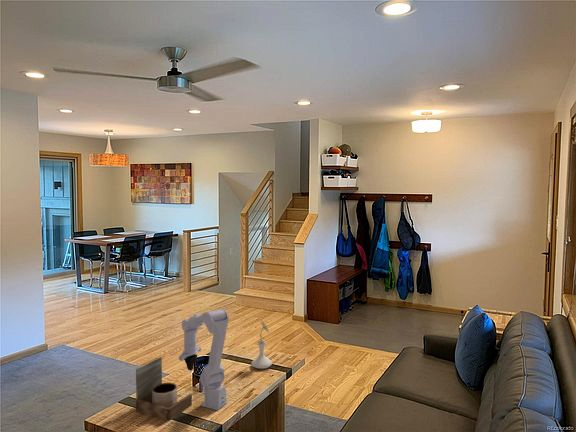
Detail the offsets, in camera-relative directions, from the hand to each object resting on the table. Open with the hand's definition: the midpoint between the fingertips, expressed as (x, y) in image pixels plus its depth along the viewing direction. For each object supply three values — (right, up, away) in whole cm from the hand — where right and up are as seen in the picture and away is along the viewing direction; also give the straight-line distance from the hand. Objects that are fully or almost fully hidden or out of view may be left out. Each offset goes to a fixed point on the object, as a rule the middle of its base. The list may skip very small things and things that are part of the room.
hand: (190, 369), depth 207 cm
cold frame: (-7, -10, -18) cm, 22 cm away
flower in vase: (+33, -9, +29) cm, 45 cm away
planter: (-7, -11, -19) cm, 23 cm away
